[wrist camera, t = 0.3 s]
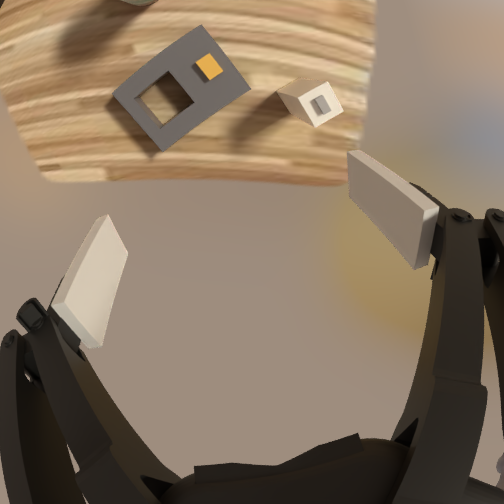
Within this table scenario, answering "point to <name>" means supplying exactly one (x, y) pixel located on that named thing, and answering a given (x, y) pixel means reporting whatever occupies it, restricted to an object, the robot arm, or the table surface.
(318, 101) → the block
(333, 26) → the table surface
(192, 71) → the grey charger dock
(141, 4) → the coffee cup
